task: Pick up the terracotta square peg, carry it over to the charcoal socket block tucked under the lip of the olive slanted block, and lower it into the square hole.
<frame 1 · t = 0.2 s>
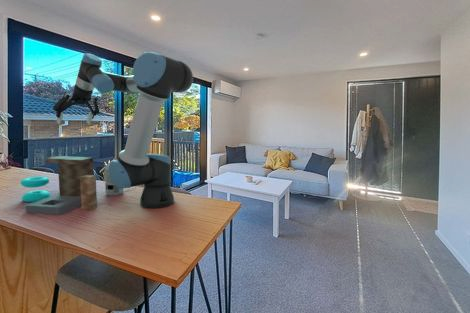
hand: (73, 123, 122), 35 cm above the table, tool tilted 35°, fingers open, 13 cm apart
supplement can: (114, 193, 124), on the table
peg: (89, 208, 102), on the table
donuts: (36, 199, 110), on the table
socket: (57, 207, 101), on the table
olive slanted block: (72, 200, 111), on the table
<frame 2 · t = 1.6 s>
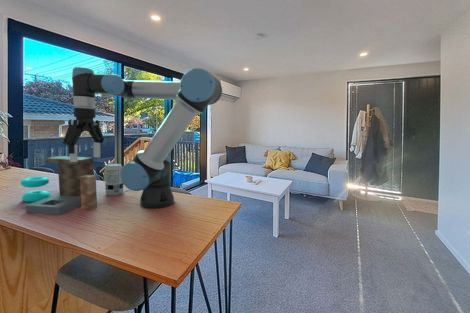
hand: (86, 159, 100), 21 cm above the table, tool pointing down, fingers open, 13 cm apart
nothing on the table moved.
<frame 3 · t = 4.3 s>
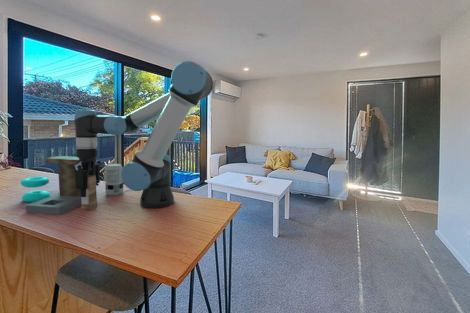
hand: (89, 202, 102), 3 cm above the table, tool pointing down, fingers closed on peg, 4 cm apart
peg: (89, 208, 102), on the table, touching gripper
everything else where it was.
when the fingers open (4 cm above the table, at t = 10.4 s): peg drops 2 cm, resting in socket.
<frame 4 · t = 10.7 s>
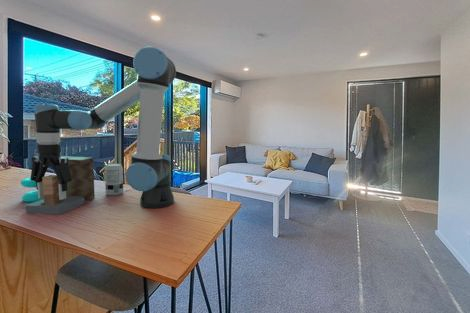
hand: (52, 198, 98), 5 cm above the table, tool pointing down, fingers open, 8 cm apart
peg: (53, 209, 99), resting in socket
everything else where it was.
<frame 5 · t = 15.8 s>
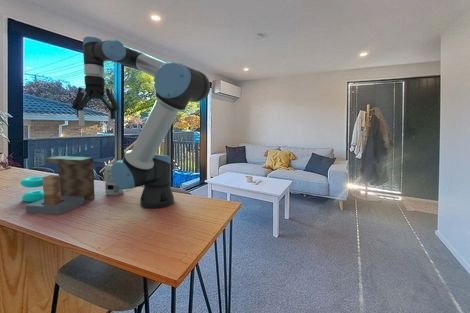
hand: (96, 126, 106), 35 cm above the table, tool pointing down, fingers open, 13 cm apart
nothing on the table moved.
at the end: peg 0.0 cm from the target spot on the socket, point 0.0 cm above the socket's base; peg tilted 0°; the gripper is holding nothing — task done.
